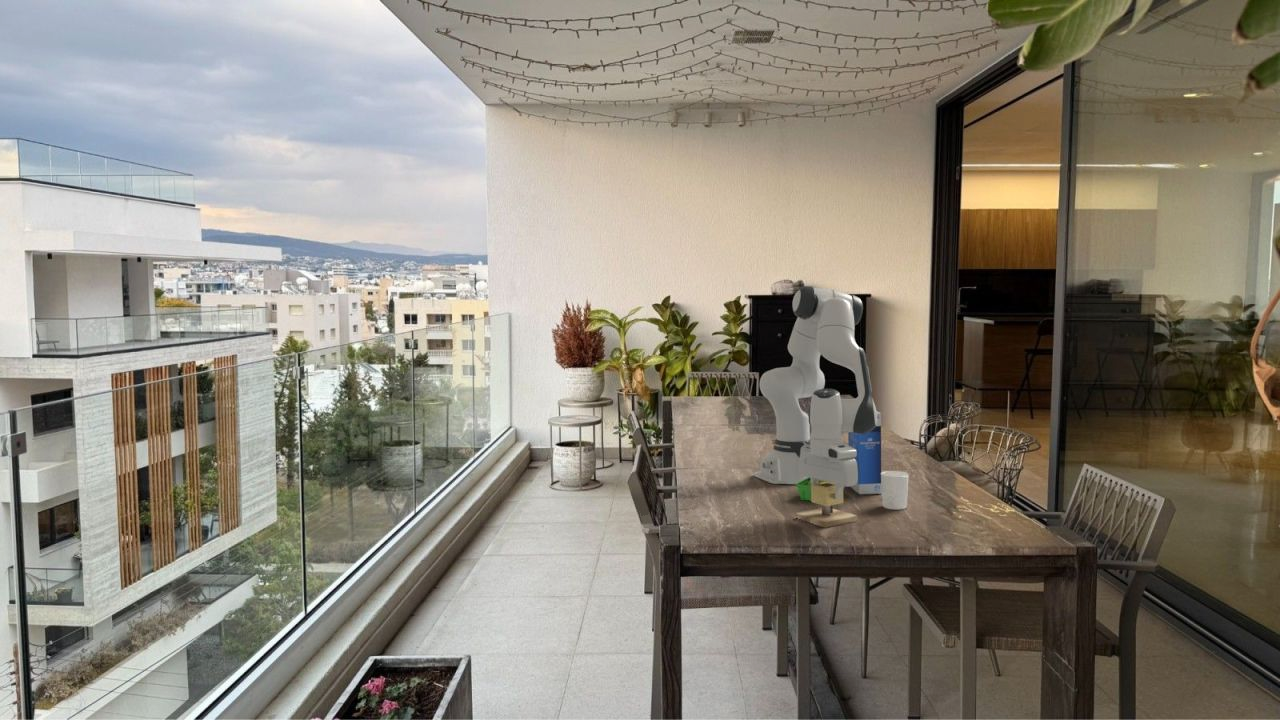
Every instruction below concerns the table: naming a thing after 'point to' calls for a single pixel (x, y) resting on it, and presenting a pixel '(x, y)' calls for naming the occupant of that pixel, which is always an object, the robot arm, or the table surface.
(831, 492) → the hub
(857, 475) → the robot arm
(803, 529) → the table surface
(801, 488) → the fruit basket
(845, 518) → the shaft block
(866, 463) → the string lights box
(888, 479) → the white cup
